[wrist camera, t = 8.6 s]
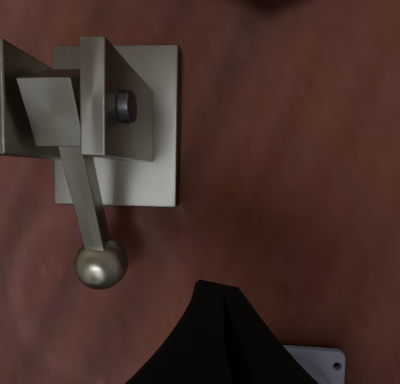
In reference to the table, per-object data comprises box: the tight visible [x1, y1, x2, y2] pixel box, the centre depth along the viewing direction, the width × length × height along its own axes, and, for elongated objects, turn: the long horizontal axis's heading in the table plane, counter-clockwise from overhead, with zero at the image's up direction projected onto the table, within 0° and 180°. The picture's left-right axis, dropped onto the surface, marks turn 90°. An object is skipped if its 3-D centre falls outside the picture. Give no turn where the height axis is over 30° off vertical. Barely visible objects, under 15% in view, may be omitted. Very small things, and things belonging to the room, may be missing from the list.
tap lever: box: [16, 69, 128, 290], centre depth 15 cm, size 12×3×3 cm, turn 179°
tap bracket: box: [0, 37, 181, 208], centre depth 16 cm, size 10×8×9 cm
